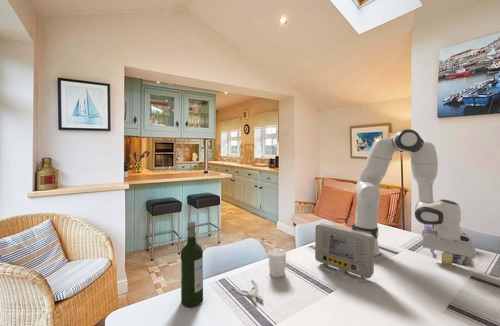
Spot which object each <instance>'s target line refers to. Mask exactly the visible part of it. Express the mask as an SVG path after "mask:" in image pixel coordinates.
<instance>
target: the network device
mask: <svg viewBox="0 0 500 326" xmlns="http://www.w3.org/2000/svg"><path fill="white" fill-rule="evenodd" d="M314 239H315V240H314V241H315V243H314V245H315V246H314V247H315V248H314V249H315V251H314V253H315V254H314V255H315V256H314V257H315V260H316V261H317V262H319V263H322V264H321V265H320V268H321V269H322V270H323V271H326V272H327V273H331V274H334V275H336V276H338V277H342V278H344V279H347V280H350V281H353V282H357V283H360V281H361V282H363V281H364V280H365V279H370V278H372V276H373V275H374V272H375V271H374V270H375V256H374V243H375V238H374V236H373V235H372V234H368V233H364V232H359V231H355V230H352V229H351V228H350V229H349V228H345V227H341V226H337V225H332V224H327V223H324V222H322V223H321V222H320V223H318V224H316V225H315V238H314ZM326 266H331V267H334V268H336V269H337V270H336V271H334V270H331V269H329V268H326ZM346 273H351V274H354V275H357V276H358V277H359V276H360V277H359V278H353V277H351V276H349V275H345V274H346ZM362 280H363V281H362Z"/></svg>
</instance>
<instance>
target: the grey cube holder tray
mask: <svg viewBox="0 0 500 326" xmlns="http://www.w3.org/2000/svg"><path fill="white" fill-rule="evenodd" d="M444 253H447V252H444ZM458 259H461V255H460V256H457V255H453V259H452V263H456V264H458ZM466 263H467V262H466V257H465V259H464V260H463V261H462V265H464V266H465V265H466Z"/></svg>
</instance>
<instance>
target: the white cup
mask: <svg viewBox="0 0 500 326" xmlns="http://www.w3.org/2000/svg"><path fill="white" fill-rule="evenodd" d="M286 258H287V252H286V250H284V249H282V248H273V249H270V250H268V267H269V275H270V276H271V277H273V278H282V277H285V272H286V271H285V269H286V263H287V262H286V261H287V259H286Z"/></svg>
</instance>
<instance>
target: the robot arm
mask: <svg viewBox="0 0 500 326" xmlns="http://www.w3.org/2000/svg"><path fill="white" fill-rule="evenodd" d="M395 152H407V153H408V154H409V156H410V169H411V173H412V176H413V178H414V180H415V182H416V183H417V189H418V201H417V203H416V205H415V208H414V217H415V219H416V220H417V221H418V222H419V223H420V224H423V225H424V224H429V225H437V231H432V230H424V229H423V230H422V231H421V237H422V243H421V246H422V247H423V248H425V249H428V250H429V249H430V253H431V254H432V258H433V259H437V257H438V254H436V253H435V252H434V251H438V252H444V253H445V252H447V253H452V254H457V255H461V259H458V263H457V265H463V264H462V261H463V260H464V259H465V258H466V257H467V258H472V259H474V258H476V255H477V253H476V246H475V243H474V242H473V240H474V239H473V236H472V235H471V234H469V233H467V232H464V231H462V230H461V227H460V226H461V225H460V223H461V219H462V213H461V212H462V210H461V207H460V205H459V204H458V203H456V202H455V201H453V200H449V199H439V200H438V201H435V202H434V189H433V186H434V182H435V180H436V179H437V174H438V169H439V168H438V167H439V163H438V155H437V151H436V147H435V145H434V144H433V143H432V142H429V141H424V139H423V138H422V137H421V136H420V134H419V133H418V132H417V131H416V130H414V129H410V128H407V129H401V130H399V131H395V133H393V134H392V135H391V136H389V138H386V137H380V138H377V139H376V140H375V141H374V142H373V144H372V146H371V148H370V150H369V153H368V155H367V158H366V160H365V163H364V166H363V169H362V171H361V173H360V175H359V177H358V180H357V182H356V185H355V187H354V191H355V194H356V207H355V220H354V221H355V222H352V224H351V226H350V227H351V228H350V229H351V230H355V231H359V232H364V233H368V234H372V235H373V236H374V238H375V243H374V257H375V256H379V255H380V253H381V251H380V248H379V241H378V240H379V239H378V238H379V226H378V214H379V207H380V200H381V190H380V188H379V186H380V184H381V182H382V181H383V178H384V177H385V176H386V175H387V171H388V168H389V165H390V164H391V163H390V162H391V161H392V157H393V155H394V154H395ZM436 233H437V234H436Z"/></svg>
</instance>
